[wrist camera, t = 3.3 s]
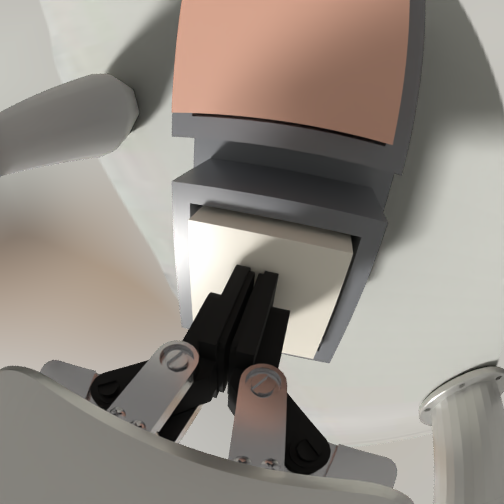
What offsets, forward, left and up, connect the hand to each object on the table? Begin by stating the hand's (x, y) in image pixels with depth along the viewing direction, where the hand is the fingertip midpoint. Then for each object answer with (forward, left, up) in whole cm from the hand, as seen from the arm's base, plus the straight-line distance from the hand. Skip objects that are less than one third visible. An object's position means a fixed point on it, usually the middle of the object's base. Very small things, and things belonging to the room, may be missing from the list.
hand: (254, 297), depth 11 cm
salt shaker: (+13, +4, -8) cm, 16 cm away
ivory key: (0, 0, -4) cm, 4 cm away
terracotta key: (+7, -7, -2) cm, 10 cm away
